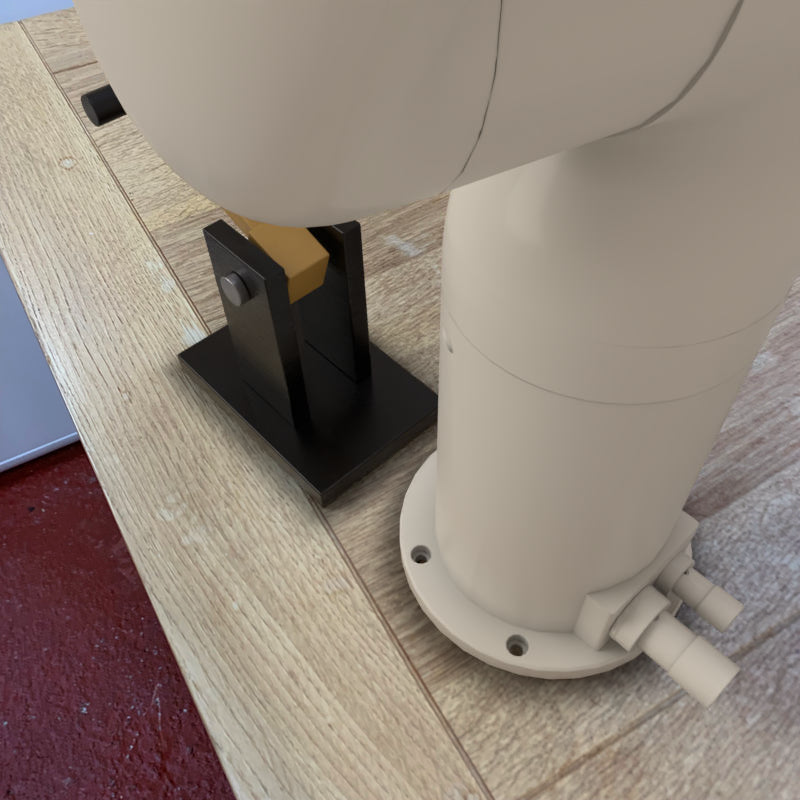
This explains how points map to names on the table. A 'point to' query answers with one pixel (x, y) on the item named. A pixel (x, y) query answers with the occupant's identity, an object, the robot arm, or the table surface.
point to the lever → (279, 242)
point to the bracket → (306, 365)
